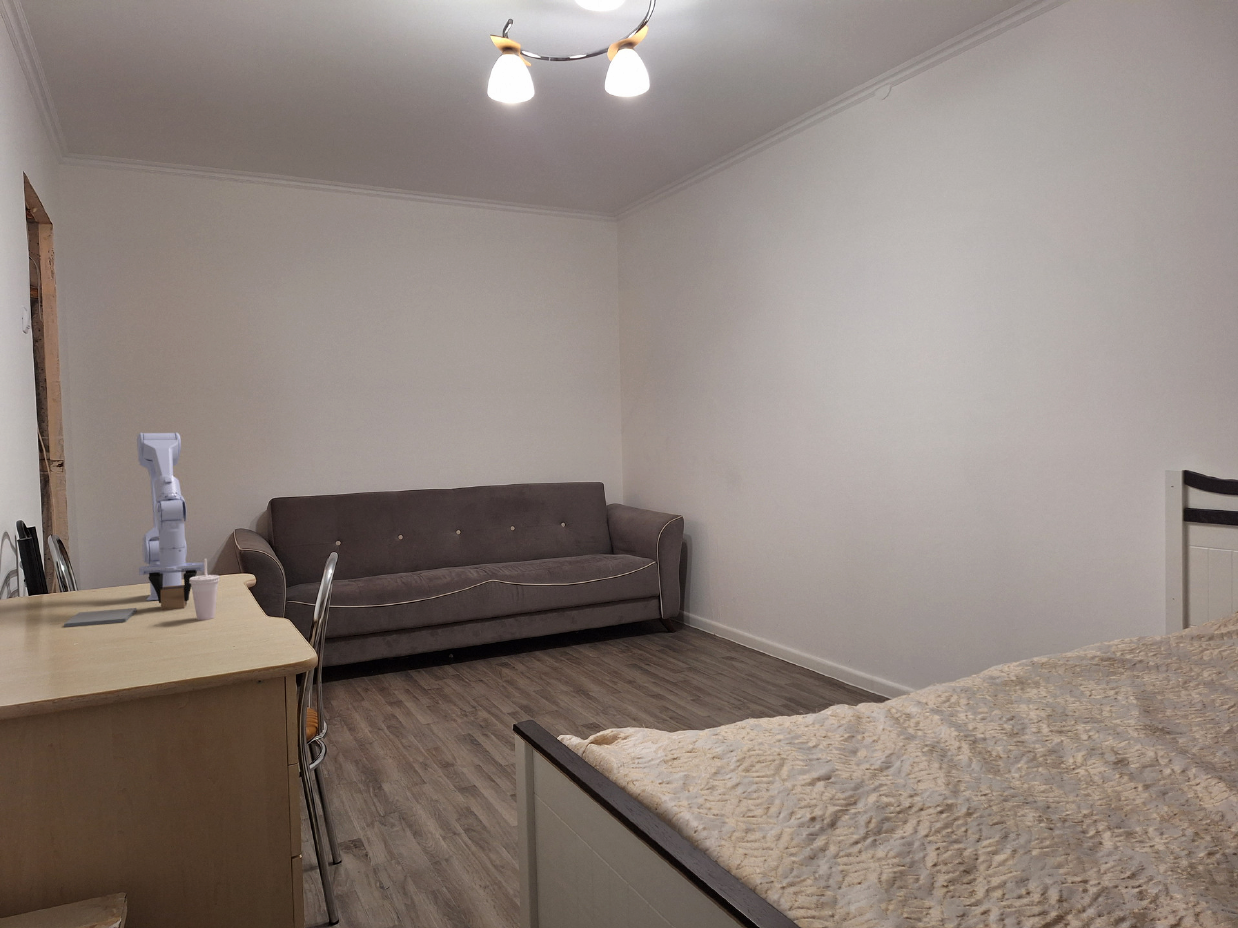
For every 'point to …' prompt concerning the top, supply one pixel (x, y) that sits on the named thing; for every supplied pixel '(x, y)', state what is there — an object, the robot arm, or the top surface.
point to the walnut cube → (173, 597)
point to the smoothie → (205, 594)
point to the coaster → (100, 617)
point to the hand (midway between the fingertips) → (174, 601)
